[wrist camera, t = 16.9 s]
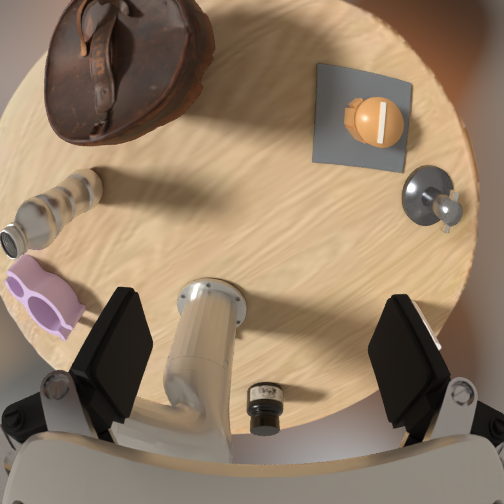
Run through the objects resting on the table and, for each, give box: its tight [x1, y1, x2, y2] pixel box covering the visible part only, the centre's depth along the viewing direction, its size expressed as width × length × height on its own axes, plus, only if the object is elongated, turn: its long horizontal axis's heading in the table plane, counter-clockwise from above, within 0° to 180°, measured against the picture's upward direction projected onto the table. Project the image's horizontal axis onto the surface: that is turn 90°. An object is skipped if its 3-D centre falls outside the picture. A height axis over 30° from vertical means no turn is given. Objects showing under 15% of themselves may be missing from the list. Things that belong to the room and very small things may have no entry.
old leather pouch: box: [44, 0, 215, 146], centre depth 21 cm, size 18×20×18 cm
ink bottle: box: [247, 383, 283, 436], centre depth 58 cm, size 10×9×12 cm
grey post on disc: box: [402, 165, 462, 233], centre depth 34 cm, size 10×10×8 cm
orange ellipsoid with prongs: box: [344, 97, 404, 148], centre depth 29 cm, size 6×6×6 cm
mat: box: [312, 63, 411, 173], centre depth 32 cm, size 14×14×1 cm
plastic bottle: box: [0, 169, 103, 260], centre depth 29 cm, size 6×7×20 cm
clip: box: [5, 254, 86, 341], centre depth 47 cm, size 20×12×7 cm, turn 44°
